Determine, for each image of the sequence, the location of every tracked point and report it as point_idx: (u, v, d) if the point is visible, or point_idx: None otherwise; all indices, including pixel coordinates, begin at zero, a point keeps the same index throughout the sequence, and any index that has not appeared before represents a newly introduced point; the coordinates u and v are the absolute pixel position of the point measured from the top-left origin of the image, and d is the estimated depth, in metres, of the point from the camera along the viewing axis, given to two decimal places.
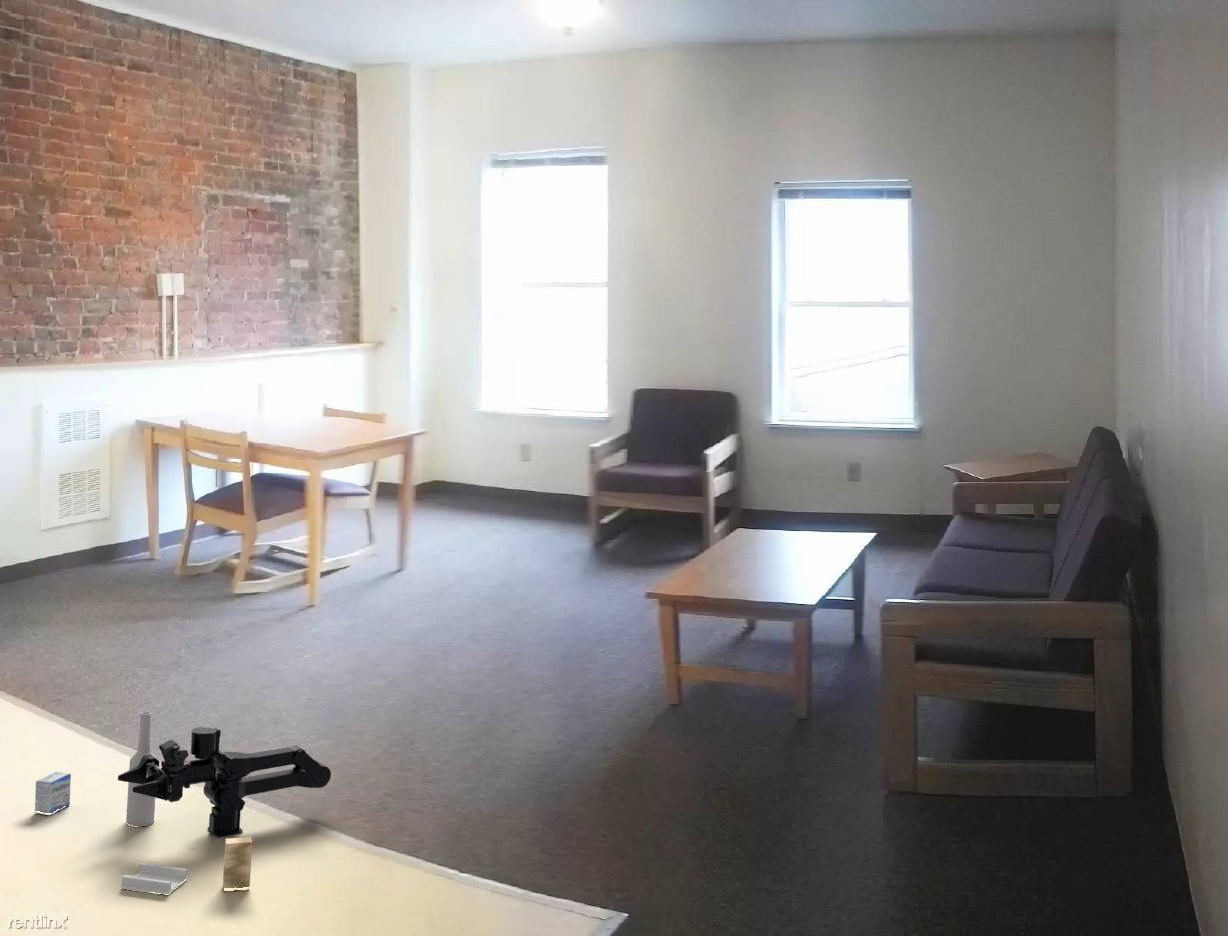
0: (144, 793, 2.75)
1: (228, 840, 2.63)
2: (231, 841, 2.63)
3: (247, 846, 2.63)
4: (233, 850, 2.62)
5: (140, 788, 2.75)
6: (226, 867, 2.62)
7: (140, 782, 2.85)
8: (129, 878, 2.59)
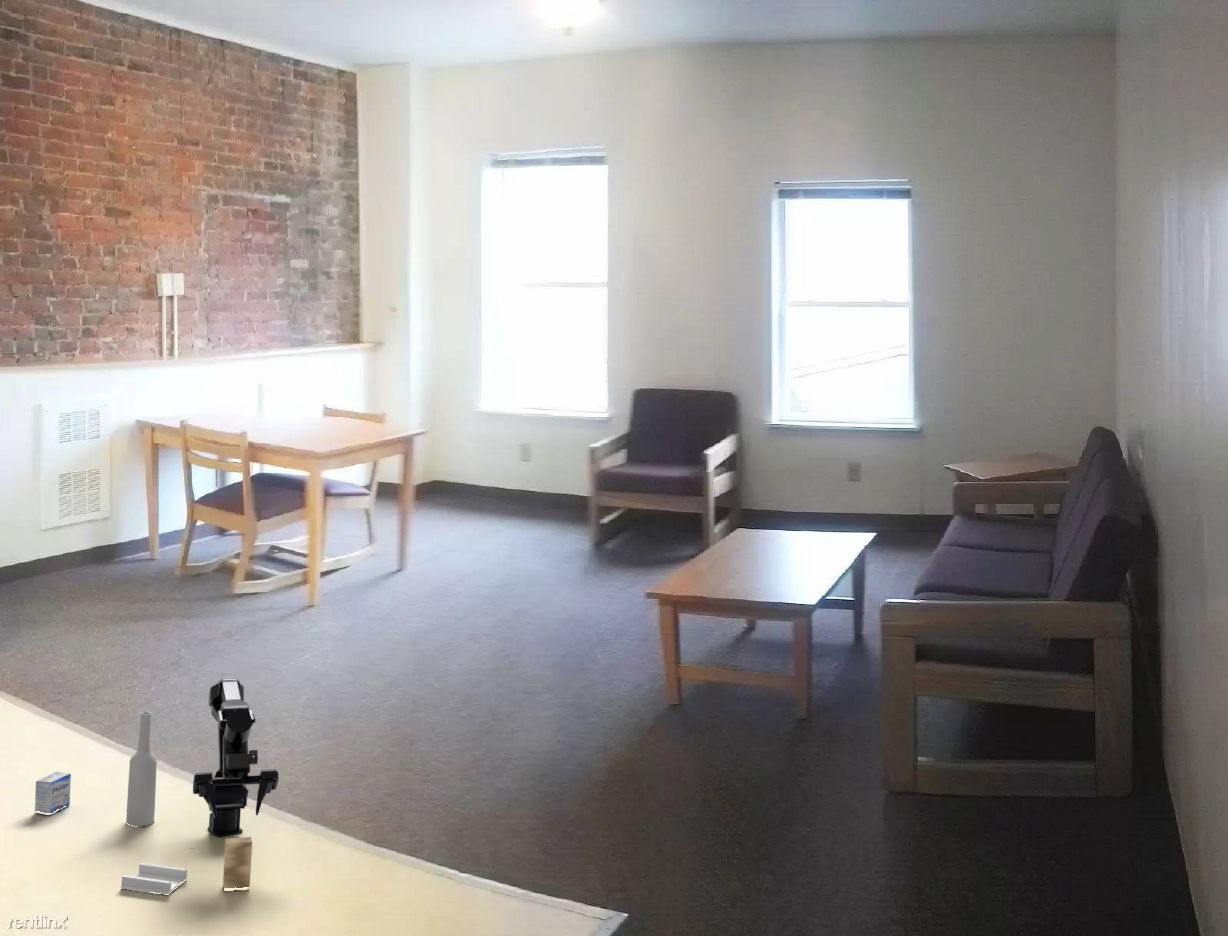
0: (260, 806, 2.75)
1: (228, 840, 2.63)
2: (231, 841, 2.63)
3: (247, 846, 2.63)
4: (233, 850, 2.62)
5: (259, 808, 2.74)
6: (226, 867, 2.62)
7: None
8: (129, 878, 2.59)
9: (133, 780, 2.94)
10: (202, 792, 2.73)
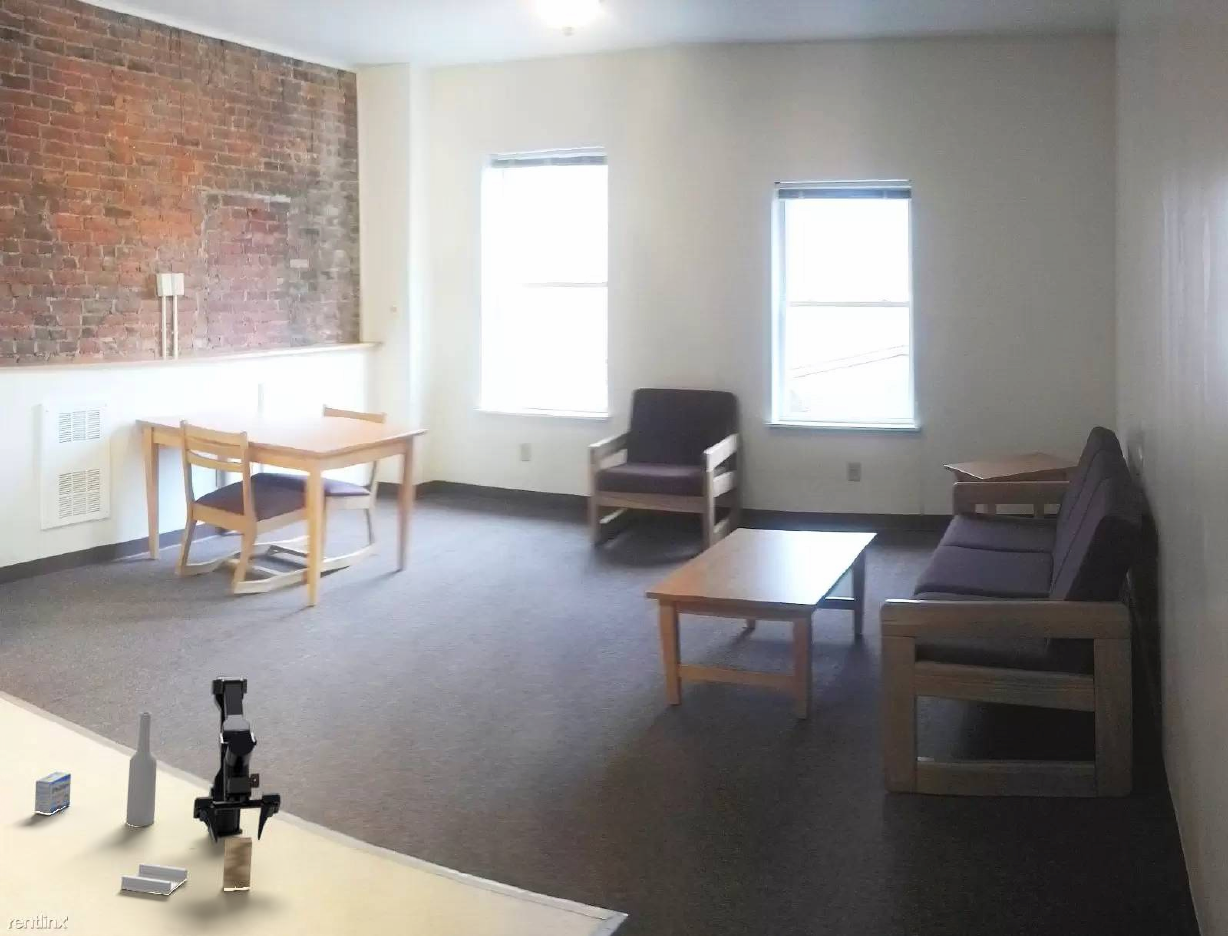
0: None
1: (228, 840, 2.63)
2: (231, 841, 2.63)
3: (247, 846, 2.63)
4: (233, 850, 2.62)
5: (261, 832, 2.69)
6: (226, 867, 2.62)
7: None
8: (129, 878, 2.59)
9: (133, 780, 2.94)
10: (203, 817, 2.68)
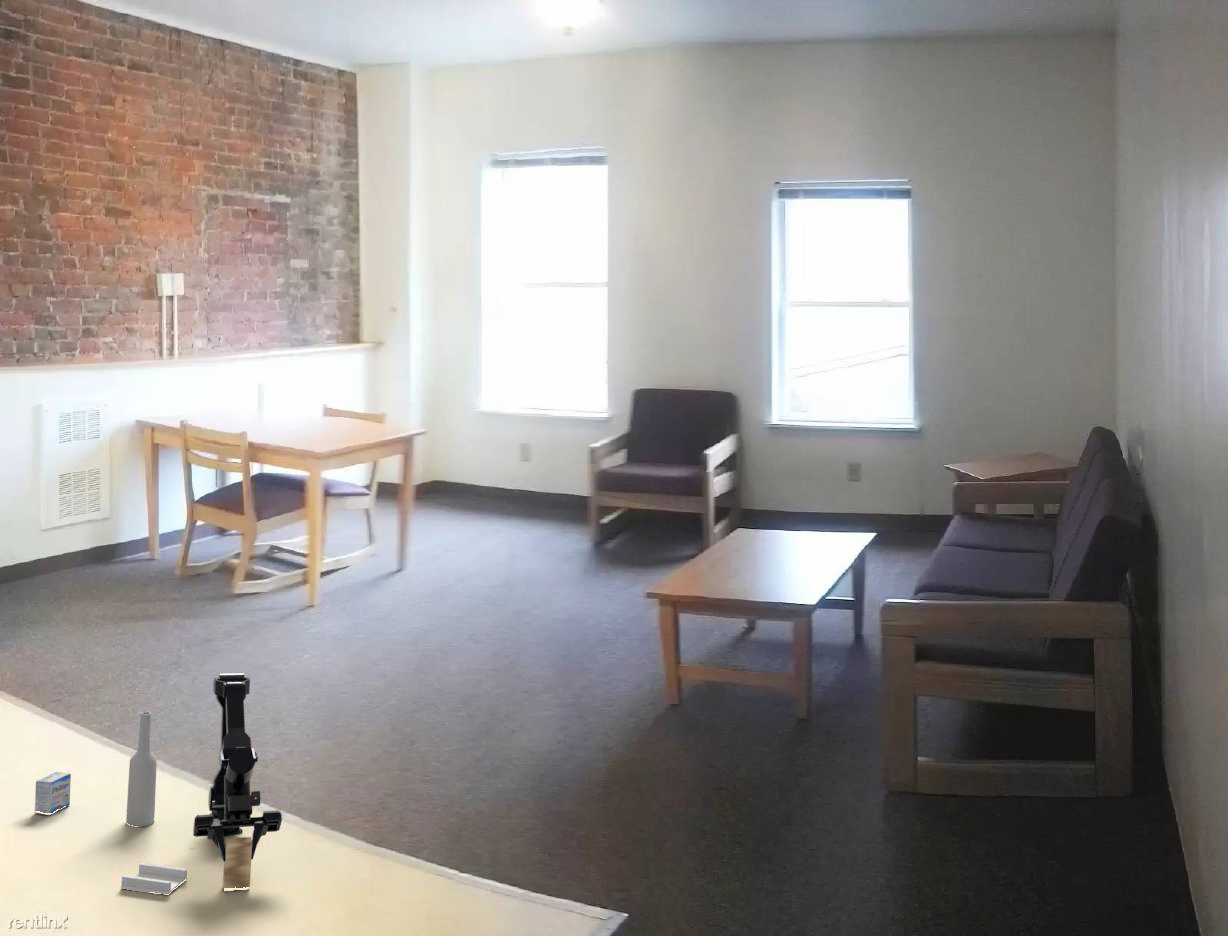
0: None
1: (228, 840, 2.63)
2: (231, 841, 2.63)
3: (247, 846, 2.63)
4: (233, 850, 2.62)
5: (254, 852, 2.65)
6: (226, 867, 2.62)
7: None
8: (129, 878, 2.59)
9: (133, 780, 2.94)
10: (211, 834, 2.65)
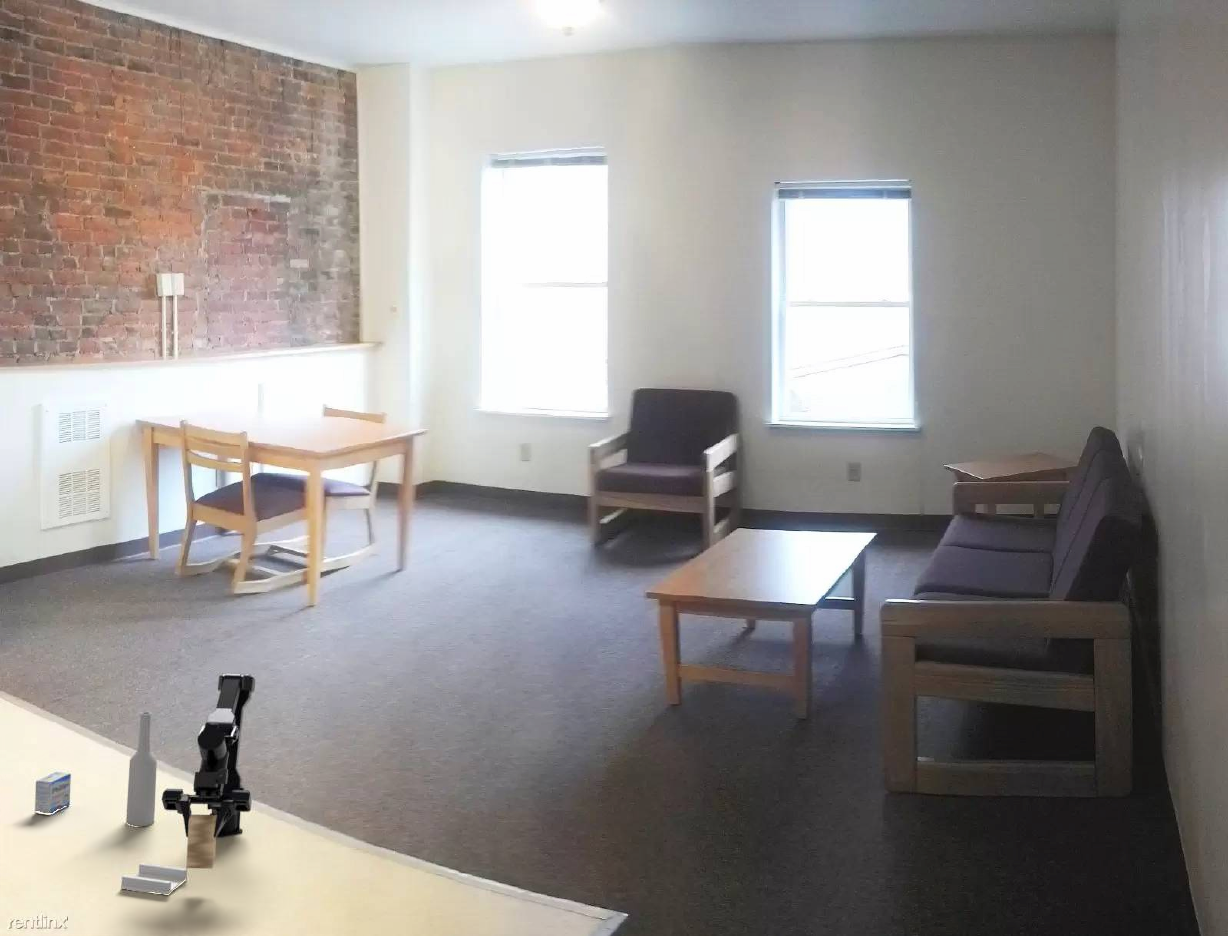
0: (221, 828, 2.63)
1: (193, 816, 2.62)
2: (194, 817, 2.61)
3: (210, 824, 2.60)
4: (195, 827, 2.60)
5: (218, 830, 2.62)
6: (189, 843, 2.60)
7: None
8: (129, 878, 2.59)
9: (133, 780, 2.94)
10: (179, 809, 2.64)
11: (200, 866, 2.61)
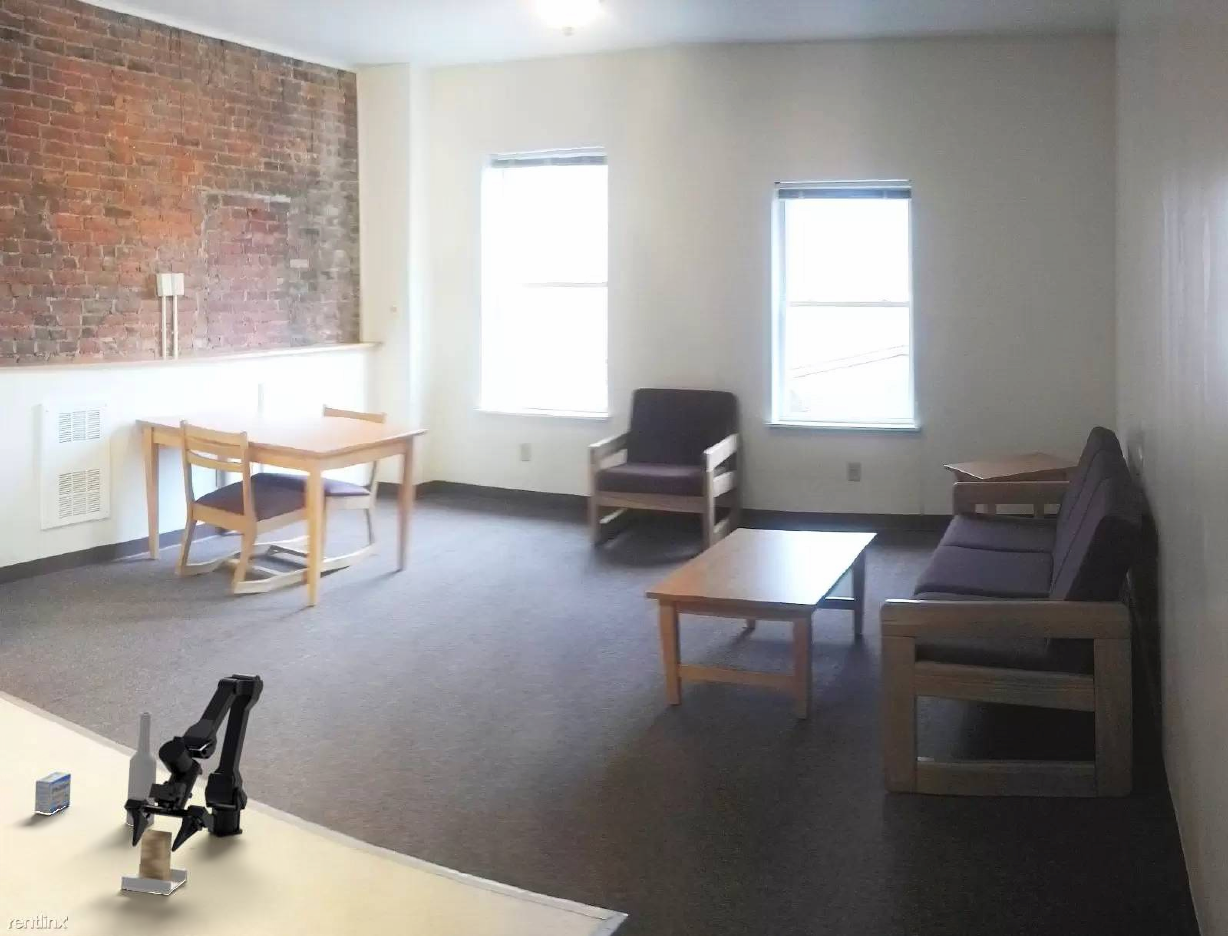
0: (182, 843, 2.63)
1: (148, 831, 2.63)
2: (148, 833, 2.62)
3: (161, 841, 2.61)
4: (147, 842, 2.61)
5: (177, 845, 2.61)
6: (141, 858, 2.61)
7: (145, 826, 2.67)
8: (129, 878, 2.59)
9: (133, 780, 2.94)
10: None
11: None
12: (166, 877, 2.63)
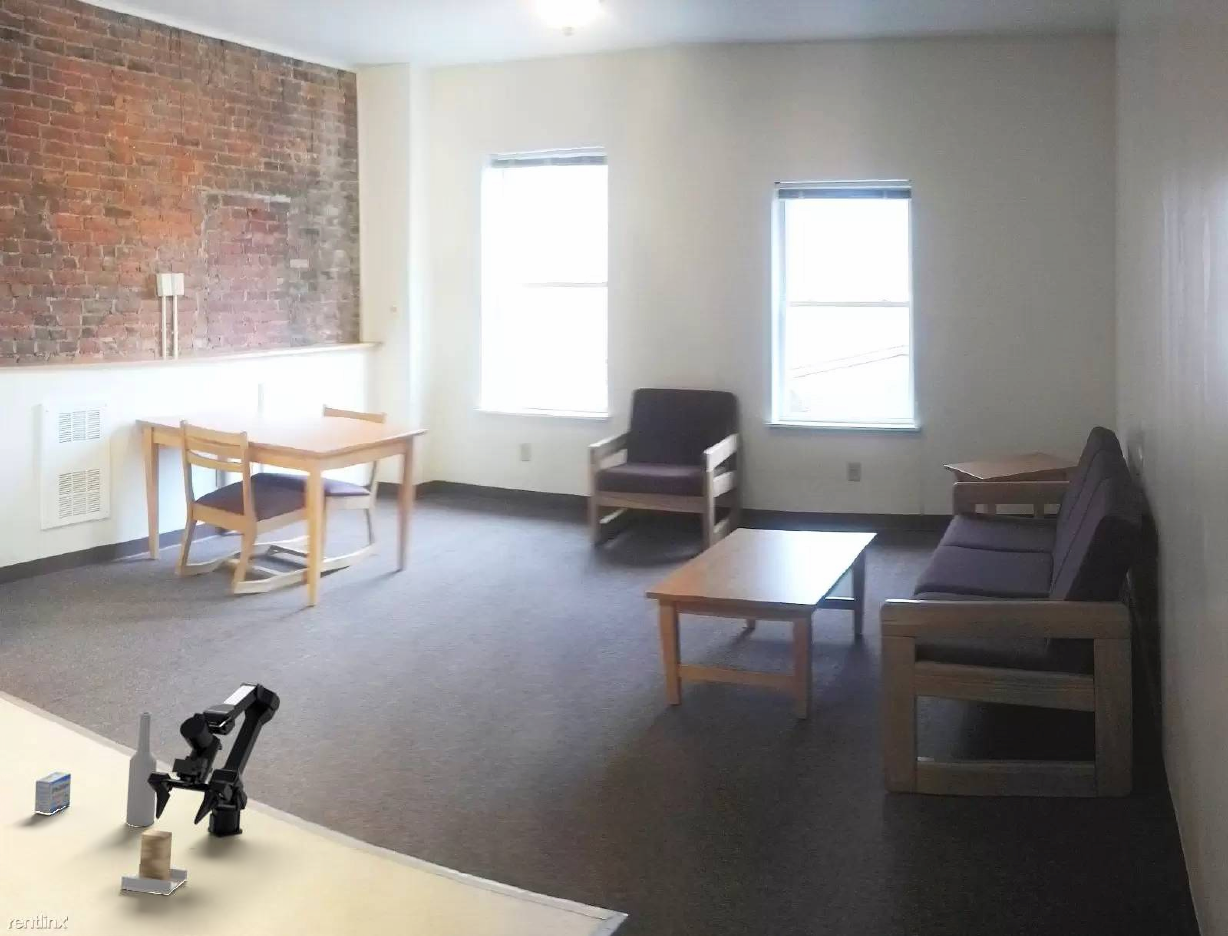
0: (204, 816, 2.72)
1: (148, 831, 2.63)
2: (148, 833, 2.62)
3: (161, 841, 2.61)
4: (147, 842, 2.61)
5: (199, 818, 2.71)
6: (141, 858, 2.61)
7: (167, 799, 2.76)
8: (129, 878, 2.59)
9: (133, 780, 2.94)
10: None
11: None
12: (166, 877, 2.63)
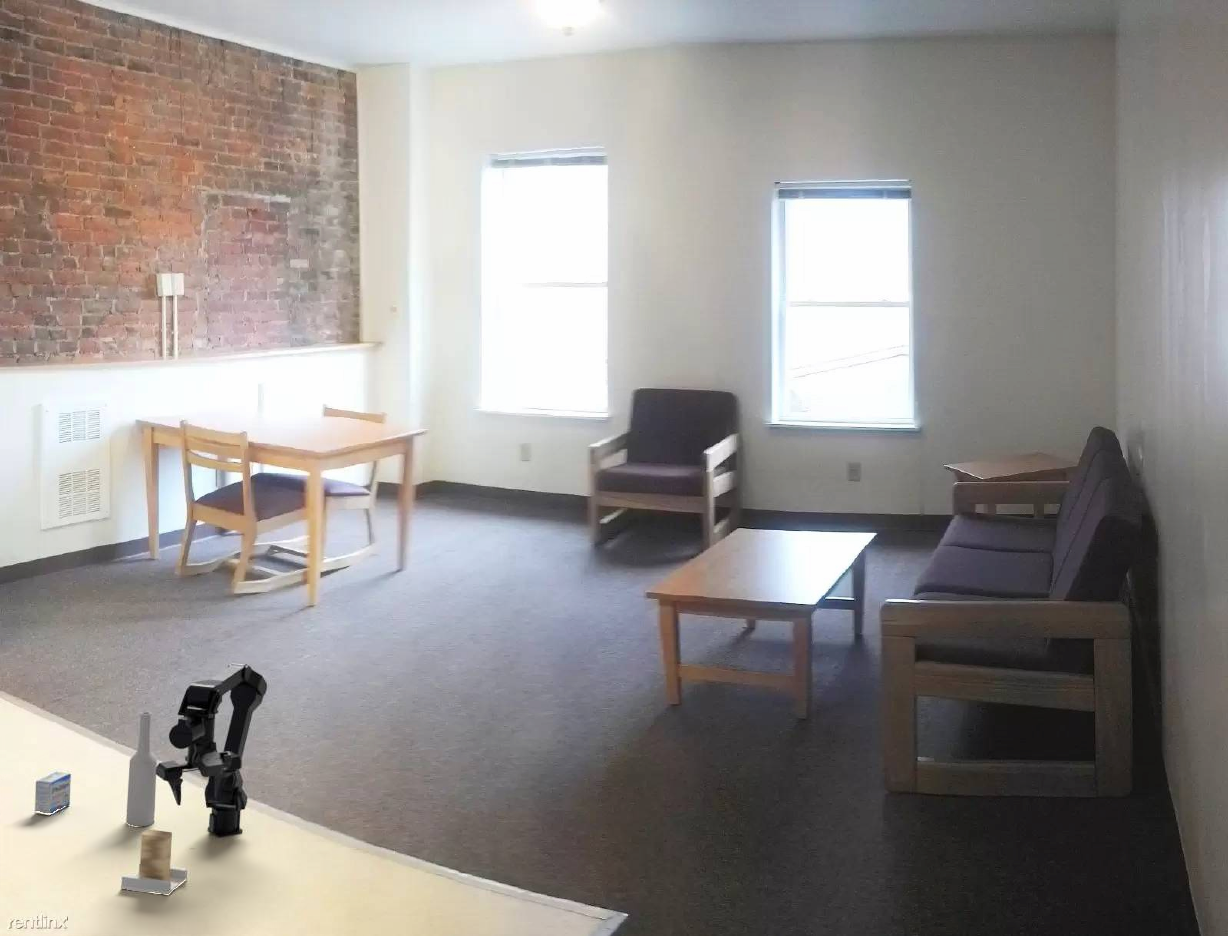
0: None
1: (148, 831, 2.63)
2: (148, 833, 2.62)
3: (161, 841, 2.61)
4: (147, 842, 2.61)
5: None
6: (141, 858, 2.61)
7: None
8: (129, 878, 2.59)
9: (133, 780, 2.94)
10: None
11: None
12: (166, 877, 2.63)
